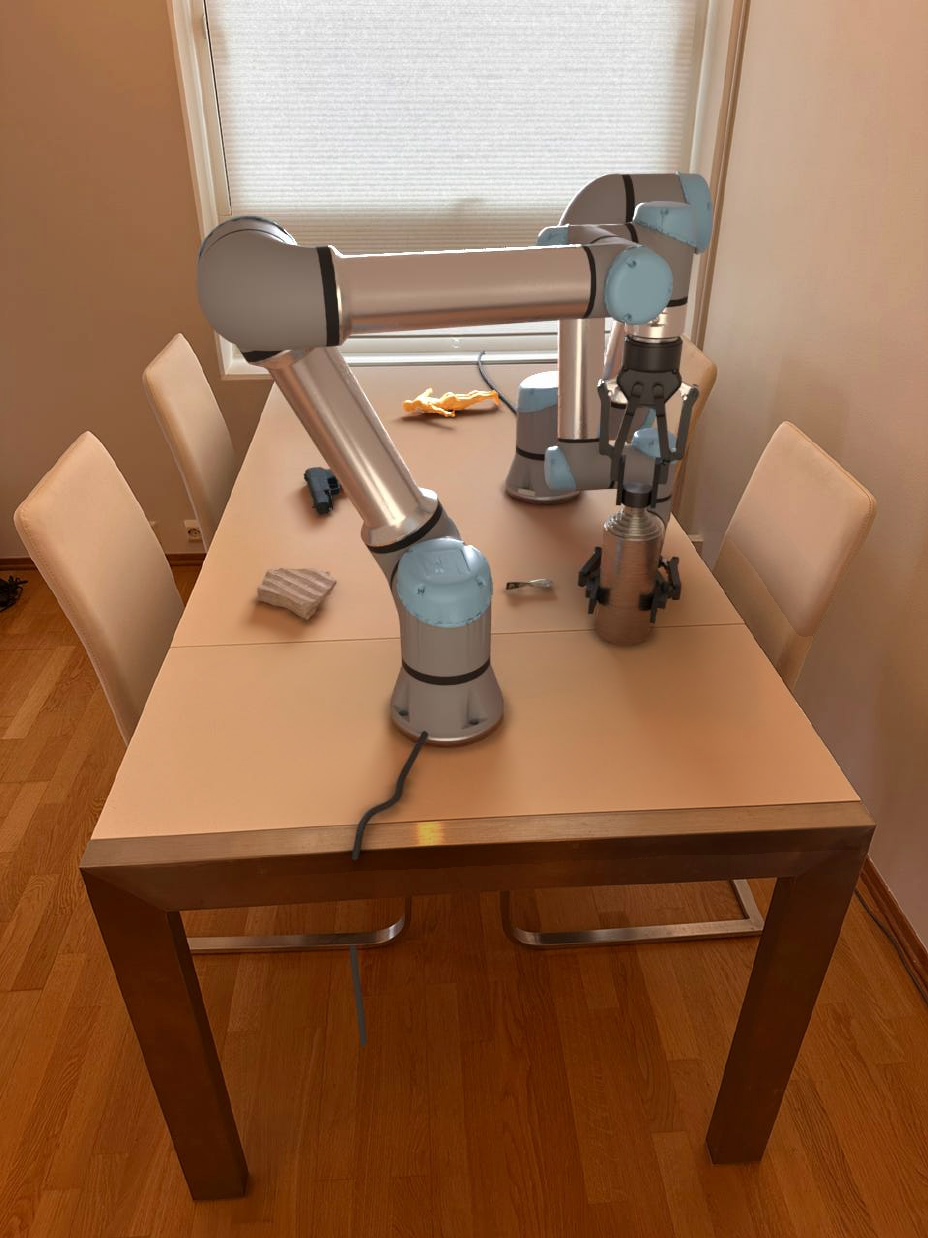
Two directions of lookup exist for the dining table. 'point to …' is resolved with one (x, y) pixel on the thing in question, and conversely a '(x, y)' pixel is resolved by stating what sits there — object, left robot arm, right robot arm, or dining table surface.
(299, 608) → the stone
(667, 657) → the dining table surface
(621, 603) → the bottle
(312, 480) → the handgun
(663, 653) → the dining table surface
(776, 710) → the dining table surface
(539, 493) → the right robot arm
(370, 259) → the left robot arm
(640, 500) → the cap
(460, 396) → the human figure
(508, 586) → the putty knife
